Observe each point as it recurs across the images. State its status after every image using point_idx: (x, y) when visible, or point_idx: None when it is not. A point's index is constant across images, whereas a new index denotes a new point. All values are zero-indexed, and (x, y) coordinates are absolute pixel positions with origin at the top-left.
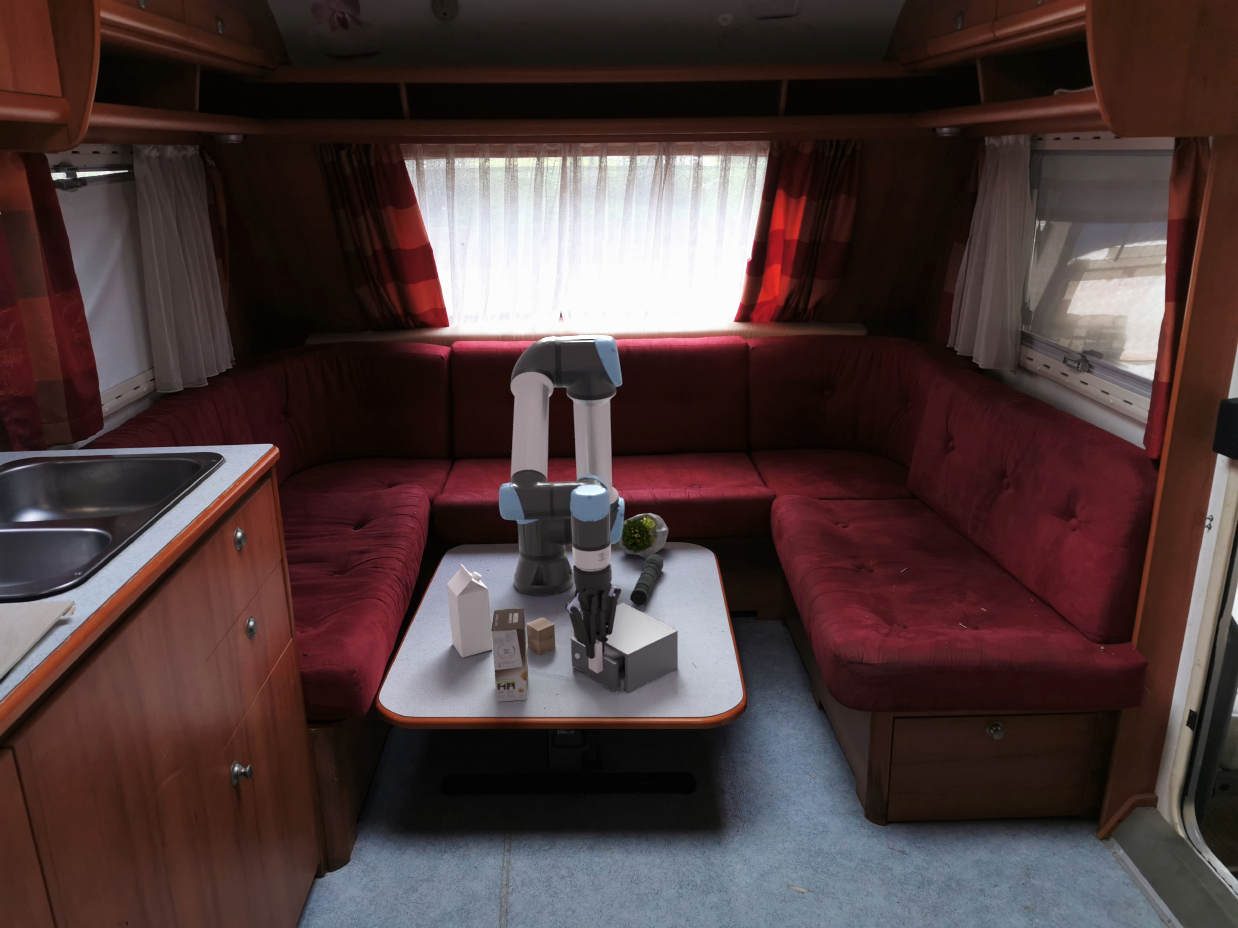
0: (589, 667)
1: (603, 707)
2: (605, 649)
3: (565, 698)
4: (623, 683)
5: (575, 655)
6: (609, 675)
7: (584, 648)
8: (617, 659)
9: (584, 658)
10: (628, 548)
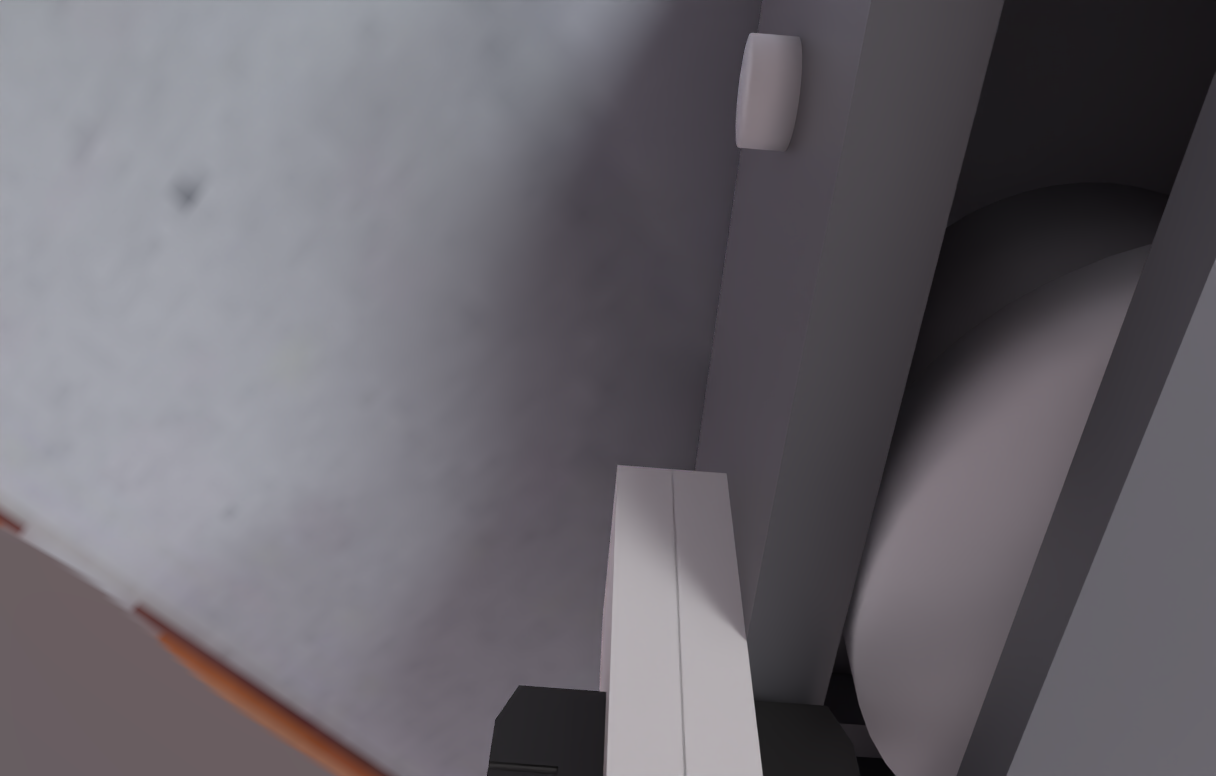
0: (616, 487)
1: (436, 670)
2: (940, 717)
3: (220, 329)
4: None
5: (750, 45)
6: None
7: (787, 372)
8: None
9: (761, 264)
10: None
